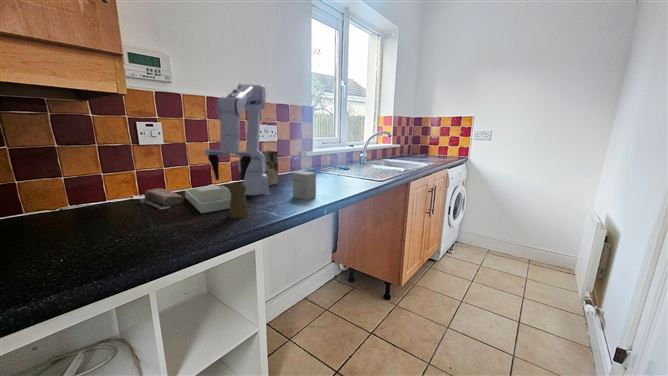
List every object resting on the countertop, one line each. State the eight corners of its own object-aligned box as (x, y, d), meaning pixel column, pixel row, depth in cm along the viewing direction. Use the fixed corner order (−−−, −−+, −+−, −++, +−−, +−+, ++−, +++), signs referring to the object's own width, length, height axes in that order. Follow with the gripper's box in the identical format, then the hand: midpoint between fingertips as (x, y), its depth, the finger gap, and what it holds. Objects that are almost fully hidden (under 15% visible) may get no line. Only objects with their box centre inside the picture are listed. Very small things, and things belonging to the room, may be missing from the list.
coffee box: (269, 181, 142) (268, 150, 138) (278, 183, 139) (278, 151, 135) (255, 185, 134) (254, 151, 130) (265, 186, 131) (264, 152, 127)
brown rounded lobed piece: (237, 220, 87) (235, 185, 85) (225, 216, 90) (223, 183, 88) (252, 214, 92) (251, 182, 90) (240, 211, 95) (238, 180, 93)
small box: (316, 197, 115) (316, 172, 113) (307, 200, 111) (308, 174, 108) (301, 194, 119) (301, 170, 117) (292, 197, 115) (292, 172, 112)
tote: (223, 195, 115) (222, 185, 114) (243, 208, 98) (243, 197, 97) (185, 200, 106) (184, 190, 105) (201, 216, 90) (200, 204, 89)
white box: (217, 195, 110) (217, 185, 109) (222, 198, 106) (222, 188, 105) (196, 198, 105) (195, 188, 104) (200, 202, 101) (199, 191, 100)
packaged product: (137, 190, 101) (166, 185, 109) (139, 203, 102) (168, 197, 110) (159, 199, 91) (189, 194, 99) (161, 213, 92) (191, 207, 100)
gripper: (206, 133, 80) (206, 180, 81) (256, 137, 88) (256, 180, 89) (203, 135, 86) (203, 179, 87) (250, 139, 94) (250, 179, 95)
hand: (230, 179), depth 89 cm, fingers open, 7 cm apart
